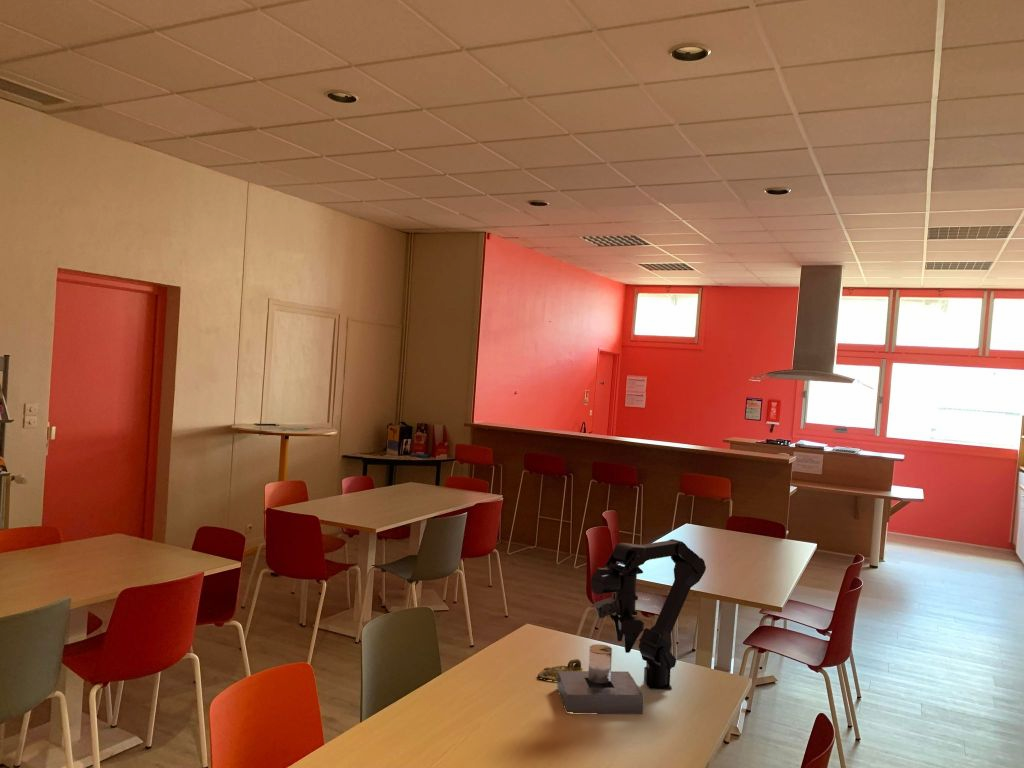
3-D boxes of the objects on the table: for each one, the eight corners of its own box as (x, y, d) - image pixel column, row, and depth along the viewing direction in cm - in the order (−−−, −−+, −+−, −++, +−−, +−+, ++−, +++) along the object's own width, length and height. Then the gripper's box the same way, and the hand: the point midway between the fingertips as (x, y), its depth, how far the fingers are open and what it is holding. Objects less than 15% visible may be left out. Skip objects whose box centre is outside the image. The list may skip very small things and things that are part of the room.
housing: (627, 689, 211) (628, 671, 211) (642, 714, 195) (643, 694, 195) (557, 689, 209) (557, 671, 209) (566, 714, 193) (567, 694, 193)
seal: (547, 690, 212) (590, 680, 220) (549, 674, 211) (591, 665, 219) (530, 675, 220) (571, 666, 227) (531, 659, 219) (573, 651, 227)
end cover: (607, 674, 206) (609, 644, 206) (612, 683, 200) (614, 652, 200) (586, 674, 205) (587, 644, 205) (590, 683, 199) (591, 652, 199)
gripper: (590, 580, 217) (588, 635, 217) (604, 599, 198) (601, 658, 198) (628, 581, 218) (626, 635, 218) (645, 599, 199) (643, 659, 199)
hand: (623, 646), depth 208 cm, fingers open, 9 cm apart
